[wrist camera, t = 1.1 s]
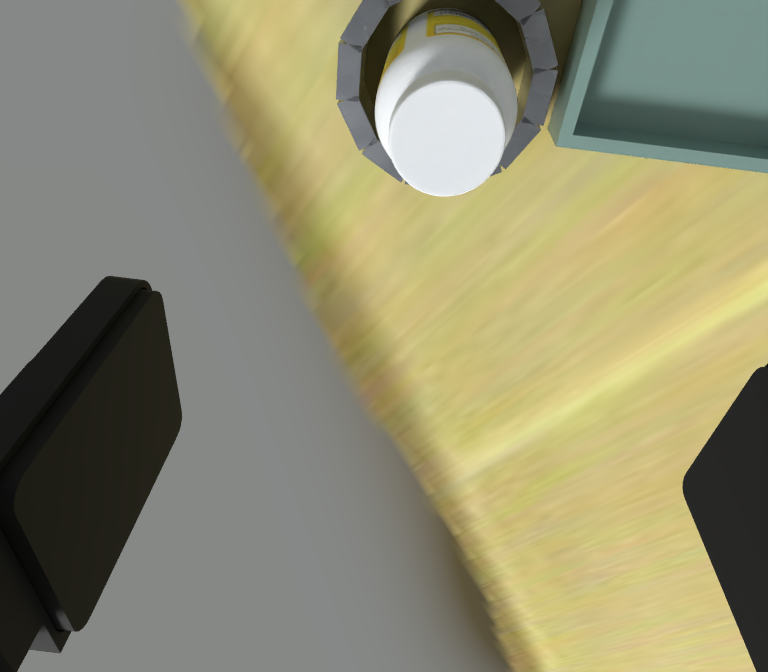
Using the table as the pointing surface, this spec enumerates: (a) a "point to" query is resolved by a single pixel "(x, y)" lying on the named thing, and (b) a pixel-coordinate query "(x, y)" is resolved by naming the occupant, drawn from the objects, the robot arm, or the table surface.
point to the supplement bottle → (445, 103)
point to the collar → (530, 98)
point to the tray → (668, 82)
